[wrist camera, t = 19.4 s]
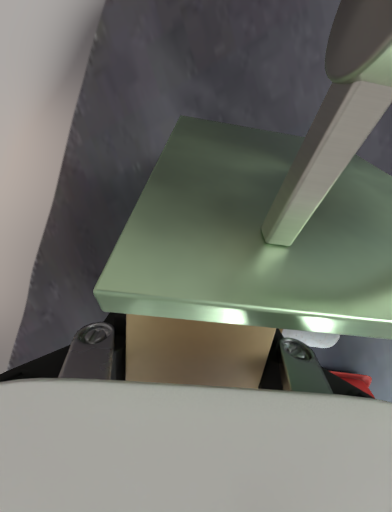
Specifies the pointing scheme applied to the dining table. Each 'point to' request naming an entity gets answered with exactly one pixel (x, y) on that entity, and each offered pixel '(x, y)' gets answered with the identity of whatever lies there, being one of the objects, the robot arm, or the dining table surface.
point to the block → (195, 352)
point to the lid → (272, 210)
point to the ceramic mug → (312, 337)
